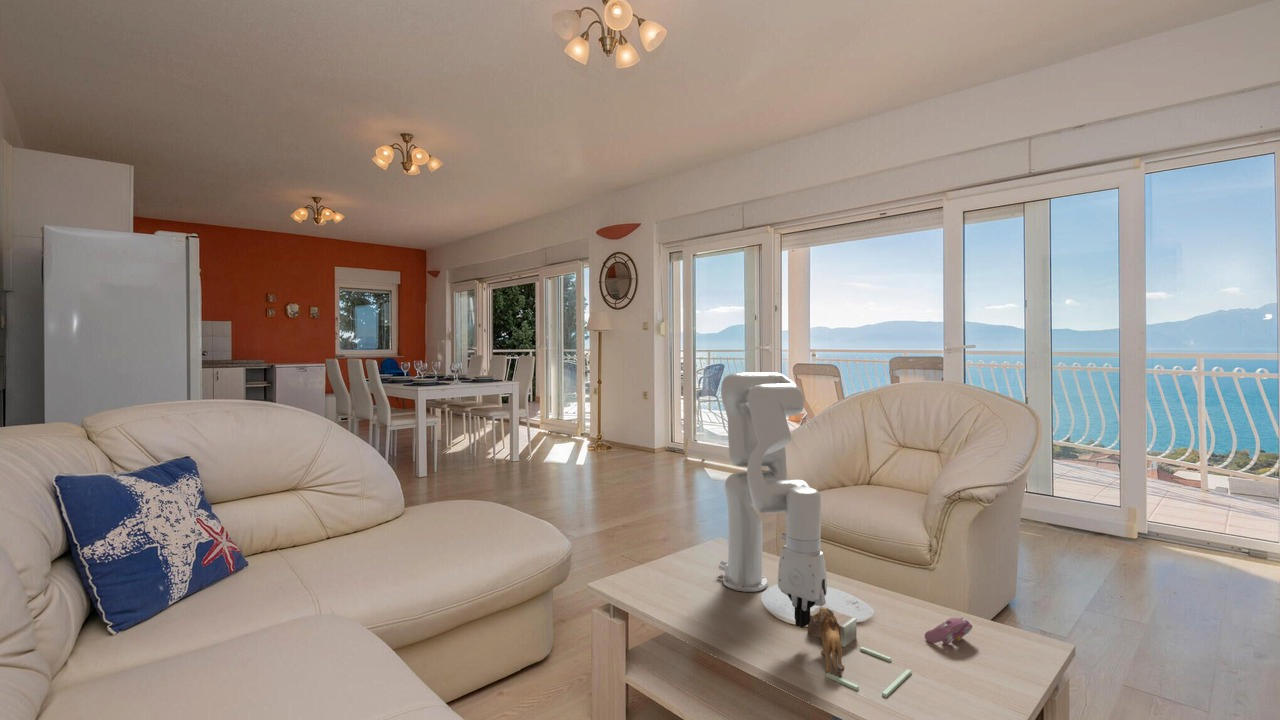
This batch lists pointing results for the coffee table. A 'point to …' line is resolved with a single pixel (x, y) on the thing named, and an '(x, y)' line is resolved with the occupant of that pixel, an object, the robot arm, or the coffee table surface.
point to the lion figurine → (830, 638)
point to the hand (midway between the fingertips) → (802, 624)
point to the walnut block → (845, 623)
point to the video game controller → (949, 631)
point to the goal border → (901, 677)
